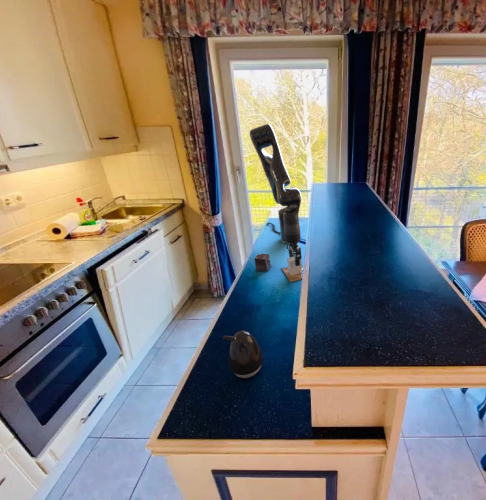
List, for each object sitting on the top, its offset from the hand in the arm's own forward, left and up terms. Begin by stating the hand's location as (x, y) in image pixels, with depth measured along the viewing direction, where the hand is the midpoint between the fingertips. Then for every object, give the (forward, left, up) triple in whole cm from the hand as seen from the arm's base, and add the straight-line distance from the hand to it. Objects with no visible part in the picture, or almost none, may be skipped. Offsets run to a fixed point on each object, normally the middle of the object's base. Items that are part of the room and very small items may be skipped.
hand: (294, 261), depth 138 cm
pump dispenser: (+49, -34, -7) cm, 60 cm away
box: (-12, -13, -7) cm, 19 cm away
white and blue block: (0, 0, -6) cm, 6 cm away
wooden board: (0, 0, -6) cm, 7 cm away
